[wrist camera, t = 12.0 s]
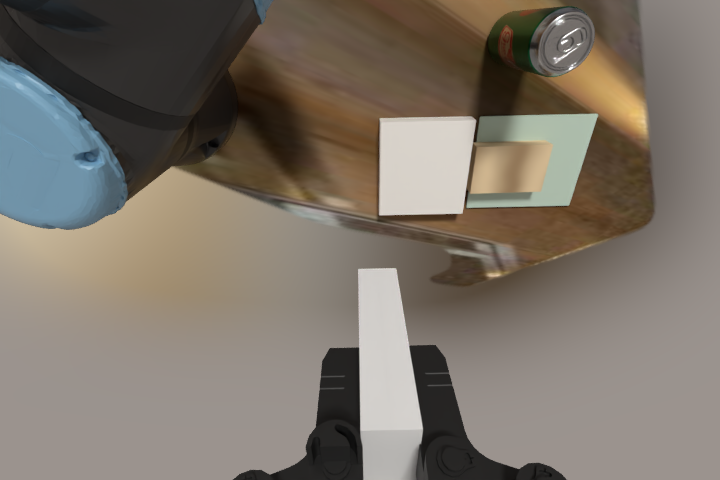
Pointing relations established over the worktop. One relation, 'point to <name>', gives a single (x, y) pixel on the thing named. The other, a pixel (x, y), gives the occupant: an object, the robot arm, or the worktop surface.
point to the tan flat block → (508, 166)
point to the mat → (564, 161)
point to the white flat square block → (424, 164)
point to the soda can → (542, 40)
